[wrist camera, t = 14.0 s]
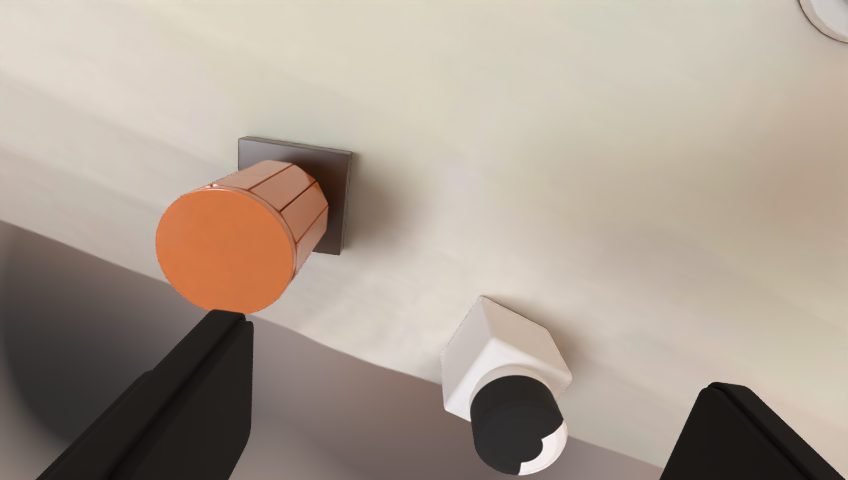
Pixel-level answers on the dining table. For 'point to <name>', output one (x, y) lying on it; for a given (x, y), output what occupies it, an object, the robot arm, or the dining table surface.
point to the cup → (242, 236)
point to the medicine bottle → (506, 388)
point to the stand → (319, 164)
